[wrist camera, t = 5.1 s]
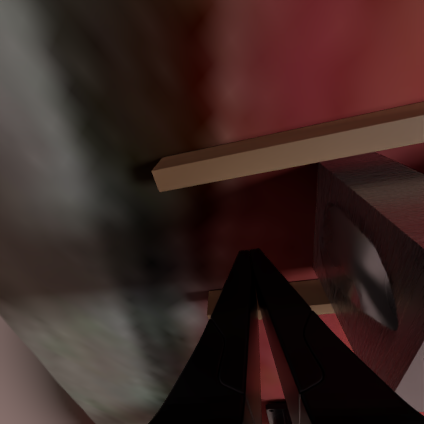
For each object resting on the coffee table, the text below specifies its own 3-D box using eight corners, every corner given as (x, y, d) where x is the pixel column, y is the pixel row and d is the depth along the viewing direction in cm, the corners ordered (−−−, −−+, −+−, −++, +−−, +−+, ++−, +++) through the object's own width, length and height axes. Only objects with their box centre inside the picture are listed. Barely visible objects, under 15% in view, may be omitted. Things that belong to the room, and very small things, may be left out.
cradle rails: (502, 270, 11) (540, 296, 9) (211, 299, 13) (210, 323, 12) (649, 53, 6) (763, 45, 5) (162, 157, 8) (151, 171, 7)
